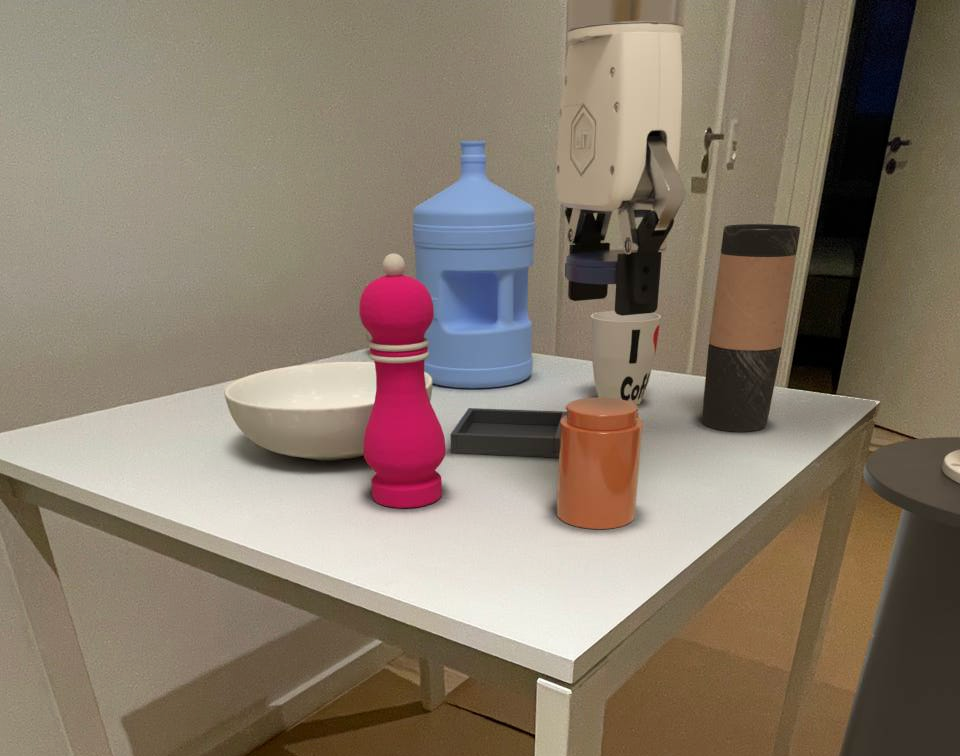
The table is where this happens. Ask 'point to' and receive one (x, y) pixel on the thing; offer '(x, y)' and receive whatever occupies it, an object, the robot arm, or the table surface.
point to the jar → (599, 463)
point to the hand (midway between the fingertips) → (610, 304)
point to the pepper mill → (401, 391)
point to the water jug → (476, 278)
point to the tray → (508, 432)
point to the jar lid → (592, 266)
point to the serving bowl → (308, 408)
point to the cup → (623, 353)
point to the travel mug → (748, 324)
